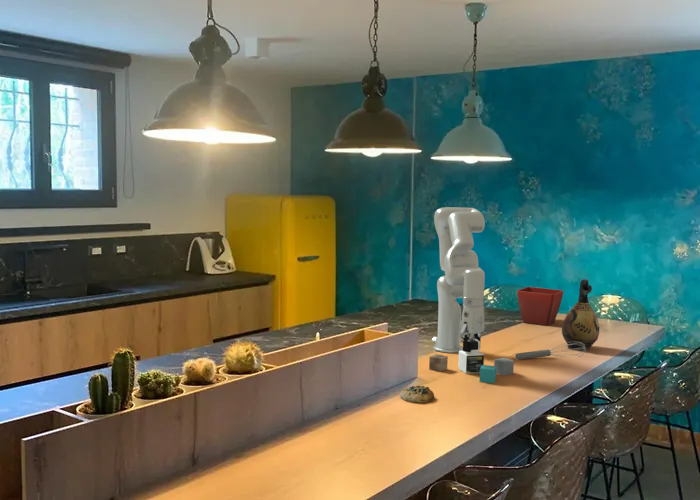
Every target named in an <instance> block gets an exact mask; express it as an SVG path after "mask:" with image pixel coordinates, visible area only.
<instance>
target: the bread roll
mask: <svg viewBox="0 0 700 500" xmlns="http://www.w3.org/2000/svg"><path fill="white" fill-rule="evenodd" d="M399 397H400V400H403V401H405V402H409V403H418V404H425V403H430V402H432V401H433V400H434V399H435V393H434V392H433V390H432V389H430V387H428V386H426V387H425V386H424V385H416V386H415V385H413V386H409V387H408V388H404V389H403V390H401V391H400V392H399Z"/></svg>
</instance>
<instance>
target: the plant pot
mask: <svg viewBox="0 0 700 500" xmlns="http://www.w3.org/2000/svg"><path fill="white" fill-rule="evenodd" d="M564 291H565V290H562V289H553V288H552V289H551V288H544V287H532V286H527V287H523V288H521V289H518V290H516V293H517V295H516V296H517V302H518V308H519V313H520V316H521V319H522V322H523V323H525V324H534V325H540V326H549V325H551V324H553V323H555V321H556V319H557V315H558V313H559V310H560V308H561V305H562V304H561V303H562V300H563V296H564Z"/></svg>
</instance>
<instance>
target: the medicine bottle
mask: <svg viewBox="0 0 700 500" xmlns="http://www.w3.org/2000/svg"><path fill="white" fill-rule="evenodd" d="M470 341H471V352H465V351H463V350H462V351H459V352H458V367H457V368H458V370H460V371H461V372H463V373H464V374H467V375H468V374H469V375H470V374H472V375H473V374H480V367H481V366H482V365H485V354H484V353H482V352H480V350H481V342H480V341H479V340H477V339H472V338H471V340H470Z"/></svg>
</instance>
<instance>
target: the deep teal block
mask: <svg viewBox="0 0 700 500" xmlns="http://www.w3.org/2000/svg"><path fill="white" fill-rule="evenodd" d="M496 381H497V373H496V366H494V365H488V364H484V365H482V366H481V367H480V373H479V382H480V383H486V384H487V383H488V384H494V383H495V382H496Z"/></svg>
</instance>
